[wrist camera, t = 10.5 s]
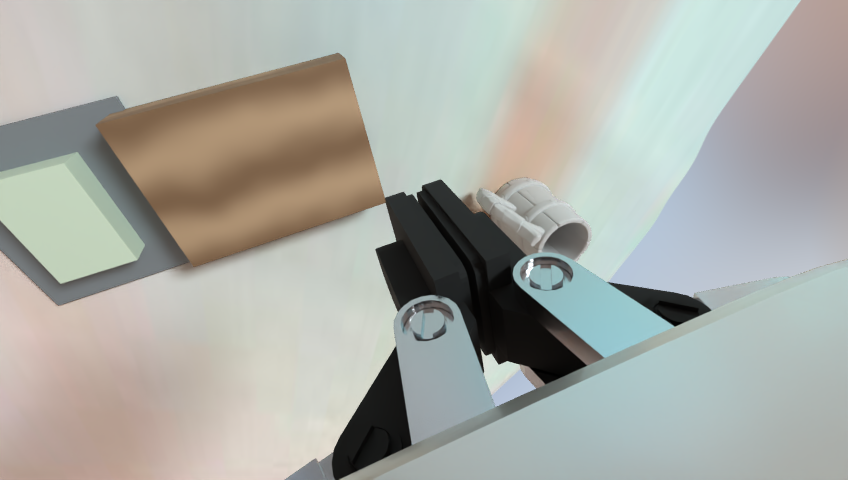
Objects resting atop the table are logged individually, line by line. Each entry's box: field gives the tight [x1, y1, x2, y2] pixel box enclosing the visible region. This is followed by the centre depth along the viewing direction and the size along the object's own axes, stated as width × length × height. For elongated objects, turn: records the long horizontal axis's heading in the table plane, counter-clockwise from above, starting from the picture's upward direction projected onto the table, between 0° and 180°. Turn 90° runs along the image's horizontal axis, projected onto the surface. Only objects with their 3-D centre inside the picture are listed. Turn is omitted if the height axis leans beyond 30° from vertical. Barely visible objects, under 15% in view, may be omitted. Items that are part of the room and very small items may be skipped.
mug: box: [476, 178, 592, 262], centre depth 41 cm, size 8×12×12 cm, turn 62°
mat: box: [0, 96, 190, 306], centre depth 32 cm, size 15×14×1 cm
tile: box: [0, 152, 145, 284], centre depth 31 cm, size 9×6×2 cm, turn 11°
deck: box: [96, 53, 386, 267], centre depth 33 cm, size 13×18×4 cm
